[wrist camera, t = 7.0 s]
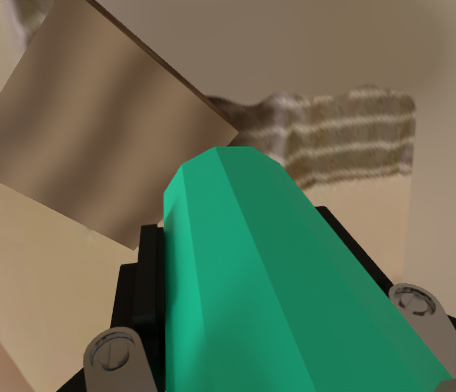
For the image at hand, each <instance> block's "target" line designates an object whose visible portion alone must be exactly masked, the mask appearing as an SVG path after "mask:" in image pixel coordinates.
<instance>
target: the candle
mask: <svg viewBox="0 0 456 392" xmlns="http://www.w3.org/2000/svg"><path fill="white" fill-rule="evenodd" d="M164 254H165V342H166V392H434V390H435V388H436V386H437V385H438V383H439V382H440V381H445V380H450V379H453V377H452V376H451V375H450V374H449V372H448V371H447V370H446V369H445V367H444V366H443V365H442V364H441V363H440V361H439V360H438V359H437V358H436V356H435V355H434V354H433V353H432V351H431V350H430V349H429V348H428V346H427V345H426V344H425V343H424V342H423V340H422V339H421V338H420V337H419V335H418V334H417V333H416V332H415V330H414V329H413V328H412V327H411V325H410V324H409V323H408V322H407V321H406V319H405V318H404V317H403V316H402V314H401V313H400V312H399V311H398V309H397V308H396V307H395V306H394V304H393V303H392V302H391V301H390V300H389V298H388V297H387V296H386V295H385V293H384V292H383V291H382V290H381V288H380V287H379V286H378V285H377V283H376V282H375V281H374V280H373V279H372V277H371V276H370V275H369V274H368V272H367V271H366V270H365V269H364V267H363V266H362V265H361V264H360V262H359V261H358V260H357V259H356V258H355V256H354V255H353V254H352V253H351V251H350V250H349V249H348V248H347V246H346V245H345V244H344V243H343V242H342V240H341V239H340V238H339V237H338V235H337V234H336V233H335V232H334V230H333V229H332V228H331V227H330V225H329V224H328V223H327V222H326V221H325V219H324V218H323V217H322V216H321V214H320V213H319V212H318V211H317V209H316V208H315V207H314V206H313V204H312V203H311V202H310V201H309V200H308V198H307V197H306V196H305V195H304V193H303V192H302V191H301V190H300V188H299V187H298V186H297V185H296V183H295V182H294V181H293V180H292V179H291V177H290V176H289V175H288V174H287V172H286V171H285V170H284V169H283V167H282V166H281V165H280V164H279V163H278V162H276V161H275V160H273V159H271V158H270V157H268V156H266V155H265V154H263V153H261V152H260V151H258V150H256V149H255V148H253V147H251V146H231V147H213V148H211V149H209V150H207V151H205V152H204V153H202V154H200V155H198V156H196V157H194V158H193V159H191V160H189V161H187V162H185V163H183V164H182V165H181V166H180V168H179V169H178V171H177V173H176V174H175V176H174V178H173V179H172V181H171V182H170V184H169V186H168V187H167V189H166V190H165V192H164Z"/></svg>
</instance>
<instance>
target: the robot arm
mask: <svg viewBox="0 0 456 392" xmlns="http://www.w3.org/2000/svg"><path fill="white" fill-rule="evenodd" d="M315 208H316V209H317V211H318V212H319V213H320V214H321V216H322V217H323V218H324V219H325V221H326V222H327V223H328V224H329V225H330V227H331V228H332V229H333V230H334V232H335V233H336V234H337V235H338V237H339V238H340V239H341V240H342V242H343V243H344V244H345V245H346V246H347V248H348V249H349V250H350V251H351V253H352V254H353V255H354V256H355V258H356V259H357V260H358V261H359V262H360V264H361V265H362V266H363V267H364V269H365V270H366V271H367V272H368V274H369V275H370V276H371V277H372V279H373V280H374V281H375V282H376V283H377V285H378V286H379V287H380V288H381V290H382V291H383V292H384V293H385V295H386V296H387V297H388V298H389V300H390V301H391V302H392V303H393V304H394V306H395V307H396V308H397V309H398V311H399V312H400V313H401V314H402V316H403V317H404V318H405V319H406V321H407V322H408V323H409V324H410V325H411V327H412V328H413V329H414V330H415V332H416V333H417V334H418V335H419V337H420V338H421V339H422V340H423V342H424V343H425V344H426V345H427V346H428V348H429V349H430V350H431V351H432V353H433V354H434V355H435V356H436V358H437V359H438V360H439V361H440V363H441V364H442V365H443V366H444V367H445V369H446V370H447V371H448V372H449V374H450V375H451V376H452V377H453V379H450V380H445V381H440V382H439V383H438V385H437V386H436V388H435V390H434V392H456V318H454V317H451V316H449V315H447V314H446V313H445V311H444V309H443V308H442V306H441V304H440V303H439V301H438V300H437V299H436V297H434V296H433V295H432V294H431V293H430V292H428V291H426V290H424V289H423V288H420V287H418V286H415V285H412V284H406V283H405V284H396V285H393V283H392V282H391V281H390V280H389V279H388V278H387V277H386V275H385V274H384V273H383V272H382V271H381V270H380V268H379V267H378V266H377V265H376V264H375V263H374V261H373V260H372V259H371V258H370V257H369V256H368V255H367V253H366V252H365V251H364V250H363V249H362V248H361V246H360V245H359V244H358V243H357V242H356V241H355V240H354V239H353V237H352V236H351V235H350V234H349V233H348V232H347V231H346V229H345V228H344V227H343V226H342V225H341V224H340V222H339V221H338V220H337V219H336V218H335V217H334V215H333V214H332V213H331V212H330V211H329V210H328V209H327V207H325V206H319V207H315ZM83 366H84V367H83V368H82V369H81V370H80V371H79V372H78V373H76V374H75V375H74V376H73V377H72V378H71V379H70V380H69V381H68V382H66V383H65V384H64V385H63V386H62V387H61V388H60V389H59V390H57V391H56V392H165V391H166V342H165V254H164V229H163V227H159V228H158V226H157V224H150V225H141V231H140V242H139V252H138V262H137V263H131V264H123V265H121V266H120V271H119V277H118V283H117V289H116V295H115V301H114V307H113V313H112V319H111V325H110V329H108V330H106V331H104V332H102V333H100V334H99V335H98V336H96V337H95V338H94V339H93V340H92V341H91V342H90V344H89V345H88V346H87V348H86V350H85V353H84V357H83Z"/></svg>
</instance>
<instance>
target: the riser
mask: <svg viewBox="0 0 456 392" xmlns="http://www.w3.org/2000/svg"><path fill="white" fill-rule="evenodd" d="M238 133H239V132H238V130H237V129H236V127H235V126H234V124H233V123H232V121H231V120H230V118H229V117H228V116H227V115H226V114H225V113H224V112H223V111H221V110H220V109H219V108H218V107H217V106H216V105H215V104H213V103H212V102H211V101H210V100H209V99H208V98H206V97H205V96H204V95H203V94H202V93H201V92H200V91H198V90H197V89H196V88H195V87H194V86H193V85H191V84H190V83H189V82H188V81H187V80H186V79H185V78H183V77H182V76H181V75H180V74H179V73H178V72H177V71H176V70H174V69H173V68H172V67H171V66H170V65H169V64H168V63H166V62H165V61H164V60H163V59H162V58H161V57H160V56H158V55H157V54H156V53H155V52H154V51H152V49H150V48H149V47H148V46H147V45H146V44H145V43H143V42H142V41H141V40H140V39H139V38H138V37H137V36H135V35H134V34H133V33H132V32H131V31H130V30H129V29H127V28H126V27H125V26H124V25H123V24H122V23H121V22H119V21H118V20H117V19H116V18H115V17H114V16H113V15H111V14H110V13H109V12H108V11H107V10H106V9H105V8H103V7H102V6H101V5H100V4H99V3H98V2H96V1H95V0H56V1H55V3H54V5H53V6H52V8H51V10H50V11H49V13H48V15H47V16H46V18H45V20H44V21H43V23H42V25H41V26H40V28H39V30H38V31H37V33H36V35H35V36H34V38H33V40H32V41H31V43H30V45H29V46H28V48H27V50H26V51H25V53H24V55H23V56H22V58H21V60H20V61H19V63H18V65H17V66H16V68H15V70H14V71H13V73H12V75H11V76H10V78H9V79H8V81H7V83H6V84H5V86H4V88H3V89H2V91H1V93H0V183H2V184H4V185H6V186H8V187H10V188H12V189H14V190H16V191H18V192H20V193H21V194H23V195H25V196H27V197H29V198H31V199H33V200H35V201H37V202H39V203H41V204H43V205H45V206H47V207H49V208H51V209H53V210H55V211H57V212H59V213H61V214H63V215H65V216H67V217H69V218H71V219H73V220H75V221H77V222H79V223H80V224H82V225H84V226H86V227H88V228H90V229H92V230H94V231H96V232H98V233H100V234H102V235H104V236H106V237H108V238H110V239H112V240H114V241H116V242H118V243H120V244H122V245H124V246H126V247H128V248H130V249H132V250H135V249H136V247H137V246H138V245H139V242H140V231H141V225H150V224H158V223H159V222H160V221H161V219H162V218H163V217H164V192H165V190H166V189H167V187H168V186H169V184H170V182H171V181H172V179H173V178H174V176H175V174H176V173H177V171H178V169H179V168H180V166H181V165H182V164H183V163H185V162H187V161H189V160H191V159H193V158H194V157H196V156H198V155H200V154H202V153H204V152H205V151H207V150H209V149H211V148H213V147H227V146H228V145H229V143H230V142H231V141H232V140H233V139H234V138H235V137H236V136H237V134H238Z"/></svg>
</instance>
